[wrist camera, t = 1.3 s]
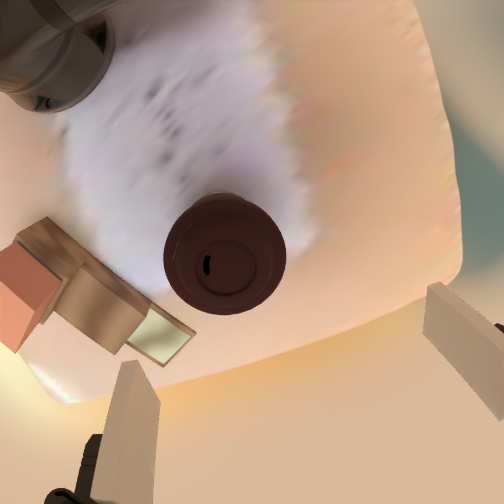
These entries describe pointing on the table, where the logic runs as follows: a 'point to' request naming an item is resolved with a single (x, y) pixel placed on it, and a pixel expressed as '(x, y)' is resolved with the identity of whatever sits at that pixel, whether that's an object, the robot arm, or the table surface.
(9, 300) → the block
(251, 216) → the coffee cup
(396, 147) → the table surface
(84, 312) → the stair
